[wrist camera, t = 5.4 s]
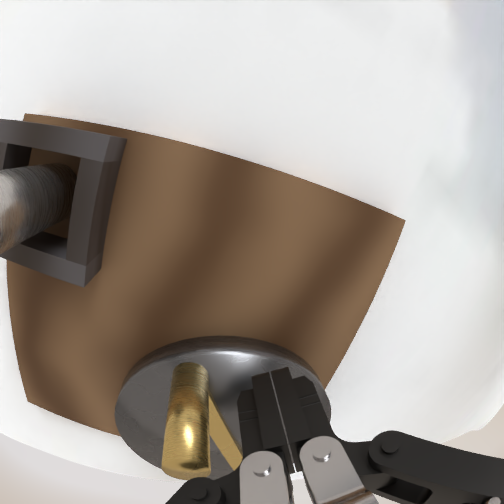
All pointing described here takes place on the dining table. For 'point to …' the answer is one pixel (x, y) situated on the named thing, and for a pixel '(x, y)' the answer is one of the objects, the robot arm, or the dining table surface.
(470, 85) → the dining table surface
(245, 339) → the handwheel
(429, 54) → the dining table surface
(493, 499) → the robot arm
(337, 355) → the board
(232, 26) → the dining table surface
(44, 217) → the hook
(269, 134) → the dining table surface
